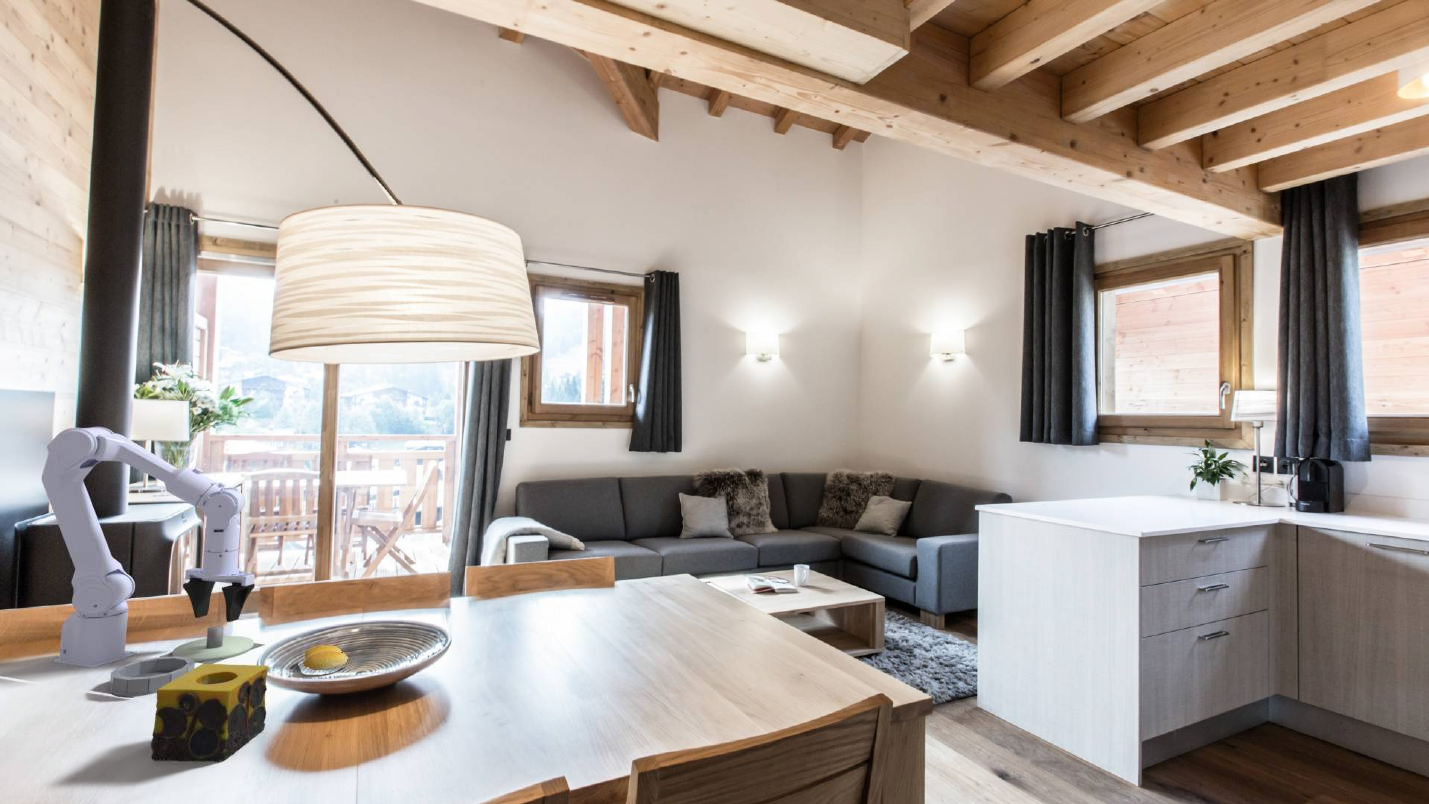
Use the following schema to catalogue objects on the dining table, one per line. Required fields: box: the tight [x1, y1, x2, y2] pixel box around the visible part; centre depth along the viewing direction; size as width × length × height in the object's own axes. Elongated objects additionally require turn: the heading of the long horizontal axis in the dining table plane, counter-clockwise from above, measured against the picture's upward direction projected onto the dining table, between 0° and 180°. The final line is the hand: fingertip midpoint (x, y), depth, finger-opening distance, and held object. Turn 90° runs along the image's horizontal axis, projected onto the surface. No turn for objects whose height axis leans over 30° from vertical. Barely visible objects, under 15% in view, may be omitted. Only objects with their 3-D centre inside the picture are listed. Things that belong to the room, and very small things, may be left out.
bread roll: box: [303, 644, 349, 670], centre depth 130 cm, size 8×9×4 cm
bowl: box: [109, 656, 196, 699], centre depth 118 cm, size 11×11×3 cm
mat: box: [158, 642, 266, 664], centre depth 135 cm, size 12×12×1 cm
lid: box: [172, 625, 255, 663], centre depth 135 cm, size 13×13×4 cm
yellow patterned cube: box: [150, 663, 269, 762], centre depth 99 cm, size 10×10×10 cm
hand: (216, 618), depth 135 cm, fingers open, 7 cm apart
